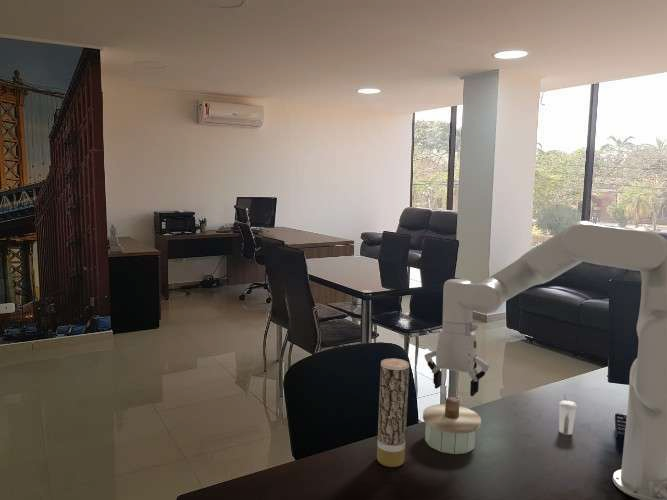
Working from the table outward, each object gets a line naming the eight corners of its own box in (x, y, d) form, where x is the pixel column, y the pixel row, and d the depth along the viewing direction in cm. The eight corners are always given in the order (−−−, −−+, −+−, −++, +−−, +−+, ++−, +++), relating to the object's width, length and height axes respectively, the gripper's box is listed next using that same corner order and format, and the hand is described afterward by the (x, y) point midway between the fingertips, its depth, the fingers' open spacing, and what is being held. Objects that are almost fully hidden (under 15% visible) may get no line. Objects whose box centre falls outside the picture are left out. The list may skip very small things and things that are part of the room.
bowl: (483, 451, 135) (485, 429, 135) (437, 455, 132) (438, 433, 132) (461, 428, 148) (462, 408, 147) (418, 432, 145) (419, 411, 144)
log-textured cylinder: (382, 470, 125) (386, 368, 122) (372, 455, 132) (376, 359, 128) (408, 466, 127) (413, 366, 124) (398, 452, 133) (402, 357, 130)
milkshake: (570, 428, 150) (573, 394, 149) (576, 437, 145) (579, 402, 144) (553, 427, 151) (556, 393, 149) (559, 435, 145) (562, 401, 144)
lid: (491, 430, 134) (493, 409, 133) (437, 435, 130) (439, 414, 130) (463, 406, 148) (464, 387, 148) (414, 410, 145) (415, 391, 144)
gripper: (494, 328, 135) (492, 392, 137) (431, 319, 144) (429, 380, 146) (486, 335, 128) (483, 402, 130) (420, 325, 138) (419, 388, 140)
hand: (455, 390), depth 138 cm, fingers open, 9 cm apart
